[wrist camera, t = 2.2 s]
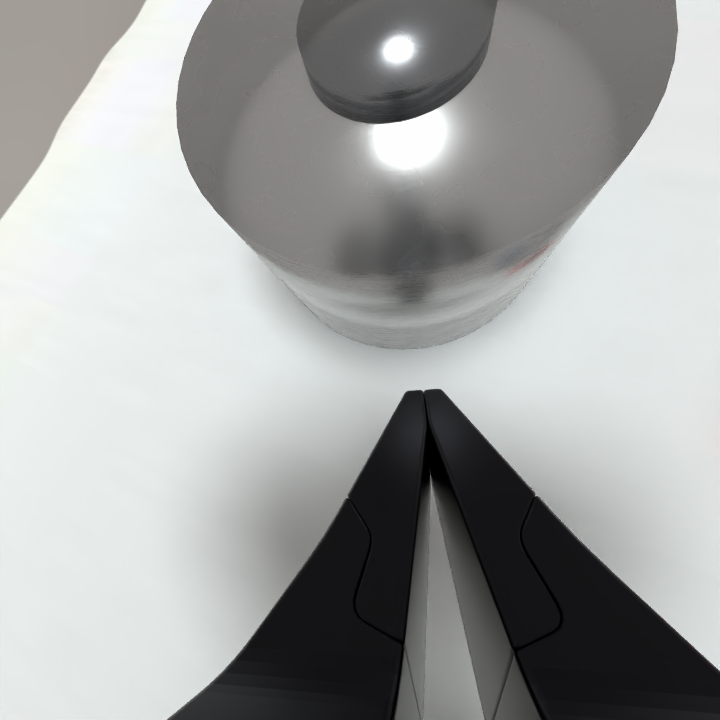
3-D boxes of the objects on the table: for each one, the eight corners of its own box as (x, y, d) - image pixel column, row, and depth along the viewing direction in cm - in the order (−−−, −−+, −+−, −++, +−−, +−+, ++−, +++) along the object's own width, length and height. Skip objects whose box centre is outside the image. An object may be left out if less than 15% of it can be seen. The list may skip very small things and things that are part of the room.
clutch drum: (455, 401, 18) (512, 371, 7) (240, 275, 22) (69, 133, 11) (594, 168, 19) (822, -161, 8) (365, 87, 23) (320, -206, 12)
